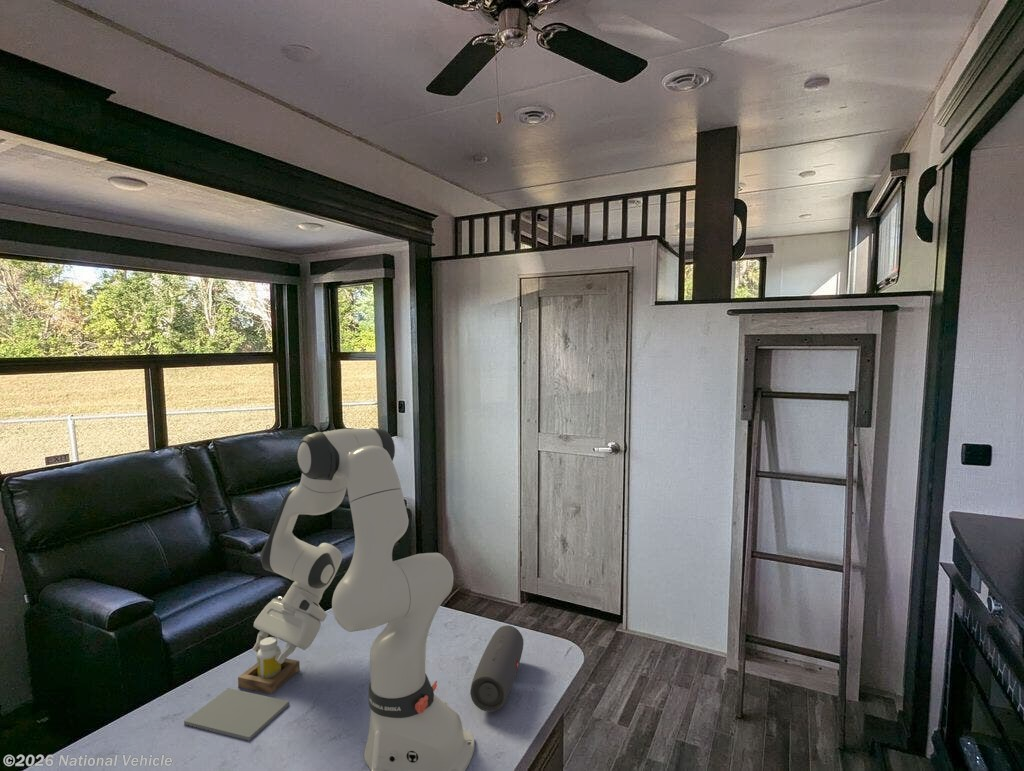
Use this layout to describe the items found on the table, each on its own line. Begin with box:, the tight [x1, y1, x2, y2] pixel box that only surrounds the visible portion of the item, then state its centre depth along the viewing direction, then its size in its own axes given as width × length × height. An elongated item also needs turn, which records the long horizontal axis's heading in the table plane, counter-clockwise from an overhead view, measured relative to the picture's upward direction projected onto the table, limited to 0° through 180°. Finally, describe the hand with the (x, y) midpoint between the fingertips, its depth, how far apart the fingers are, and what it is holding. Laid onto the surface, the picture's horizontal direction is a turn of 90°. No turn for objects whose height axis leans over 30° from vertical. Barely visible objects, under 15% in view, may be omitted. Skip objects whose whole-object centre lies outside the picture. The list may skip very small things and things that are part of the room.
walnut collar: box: [237, 657, 300, 695], centre depth 130 cm, size 10×10×2 cm
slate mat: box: [183, 687, 290, 742], centre depth 117 cm, size 18×12×1 cm, turn 73°
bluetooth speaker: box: [470, 624, 524, 713], centre depth 126 cm, size 23×9×10 cm, turn 168°
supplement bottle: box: [256, 636, 282, 679], centre depth 130 cm, size 5×5×10 cm
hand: (266, 656), depth 129 cm, fingers open, 8 cm apart
